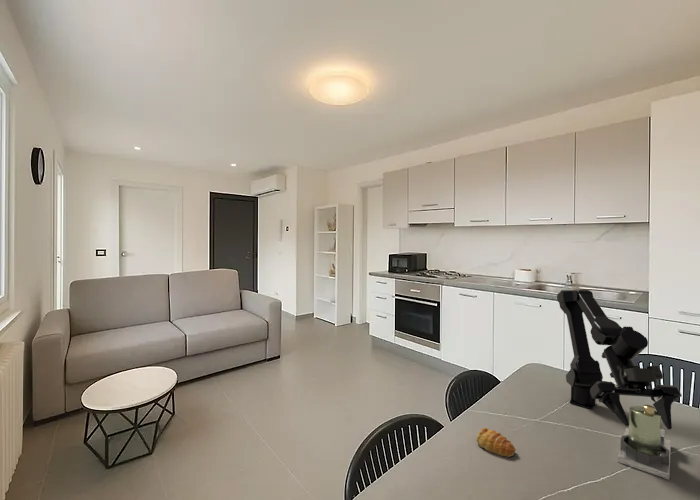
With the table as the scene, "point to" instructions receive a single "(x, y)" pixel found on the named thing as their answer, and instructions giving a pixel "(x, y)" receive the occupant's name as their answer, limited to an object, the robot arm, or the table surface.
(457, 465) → the table surface
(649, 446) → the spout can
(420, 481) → the table surface
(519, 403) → the table surface
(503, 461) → the table surface
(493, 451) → the pastry
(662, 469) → the grey piece
